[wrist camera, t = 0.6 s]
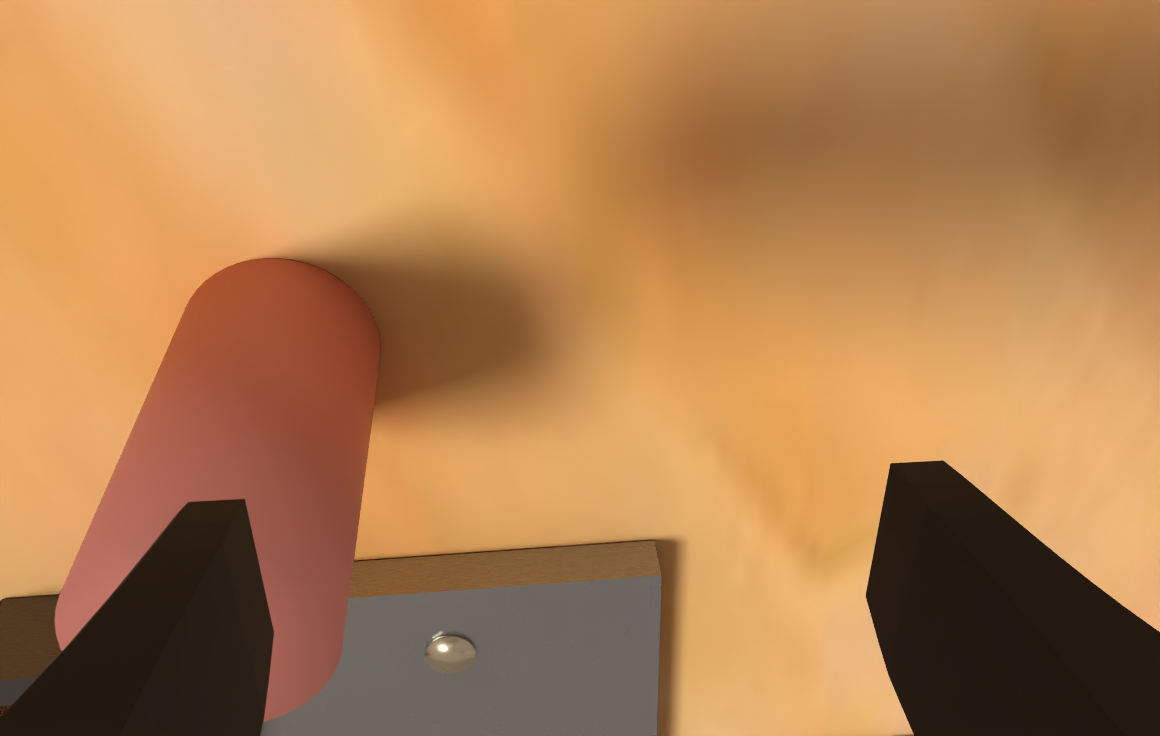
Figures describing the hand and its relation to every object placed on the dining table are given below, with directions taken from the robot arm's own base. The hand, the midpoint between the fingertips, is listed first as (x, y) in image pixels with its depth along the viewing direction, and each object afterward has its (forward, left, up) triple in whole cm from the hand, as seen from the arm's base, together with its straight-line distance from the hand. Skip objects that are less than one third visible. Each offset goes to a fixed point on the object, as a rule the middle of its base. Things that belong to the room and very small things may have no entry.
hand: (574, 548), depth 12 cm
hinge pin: (-3, +5, -10) cm, 12 cm away
